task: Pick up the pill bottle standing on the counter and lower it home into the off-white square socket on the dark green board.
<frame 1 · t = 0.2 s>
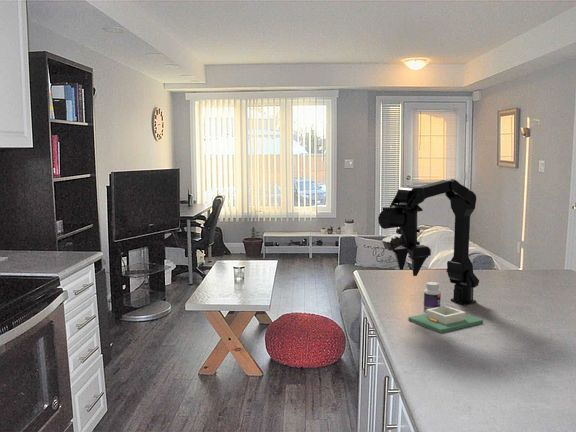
hand: (408, 272, 178), 14 cm above the countertop, fingers open, 9 cm apart
pill bottle: (431, 312, 182), on the countertop
board: (445, 321, 171), on the countertop
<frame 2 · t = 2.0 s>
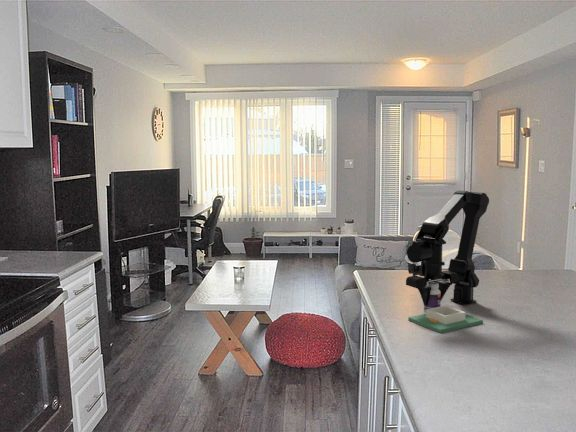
hand: (432, 304, 182), 3 cm above the countertop, fingers closed on pill bottle, 5 cm apart
pill bottle: (431, 312, 182), on the countertop, touching gripper
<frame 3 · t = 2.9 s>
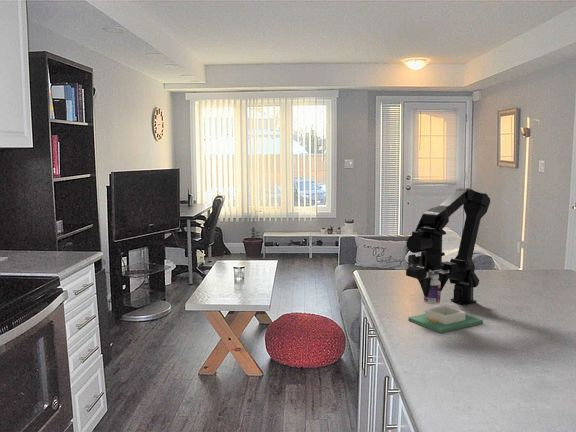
hand: (432, 295, 181), 6 cm above the countertop, fingers closed on pill bottle, 5 cm apart
pill bottle: (431, 303, 182), point 3 cm above the countertop, touching gripper
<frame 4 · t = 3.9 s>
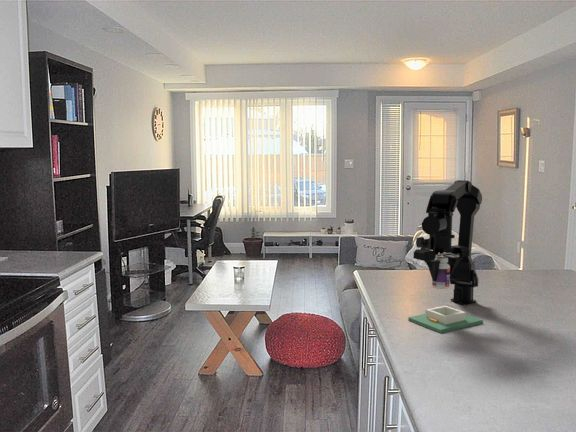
hand: (440, 279, 173), 13 cm above the countertop, fingers closed on pill bottle, 5 cm apart
pill bottle: (440, 287, 173), point 10 cm above the countertop, touching gripper
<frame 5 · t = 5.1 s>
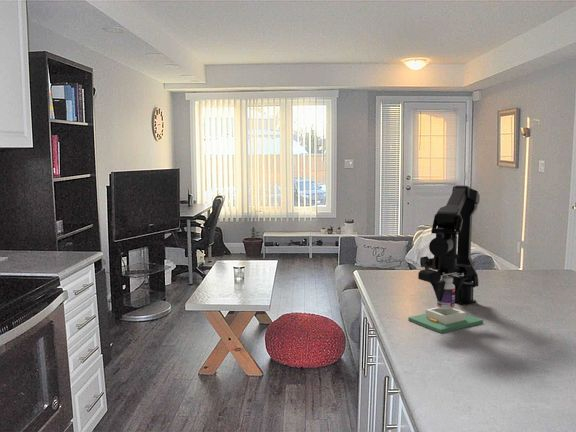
hand: (445, 299, 171), 7 cm above the countertop, fingers closed on pill bottle, 5 cm apart
pill bottle: (445, 307, 171), point 4 cm above the countertop, touching gripper
when the fingers open (5 cm above the countertop, at t = 5.9 s): pill bottle drops 1 cm, resting on board.
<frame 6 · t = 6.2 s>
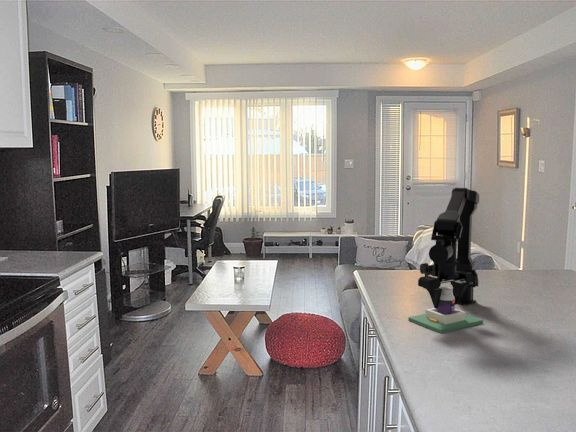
hand: (445, 306, 171), 5 cm above the countertop, fingers open, 8 cm apart
pill bottle: (445, 319, 172), point 1 cm above the countertop, touching board
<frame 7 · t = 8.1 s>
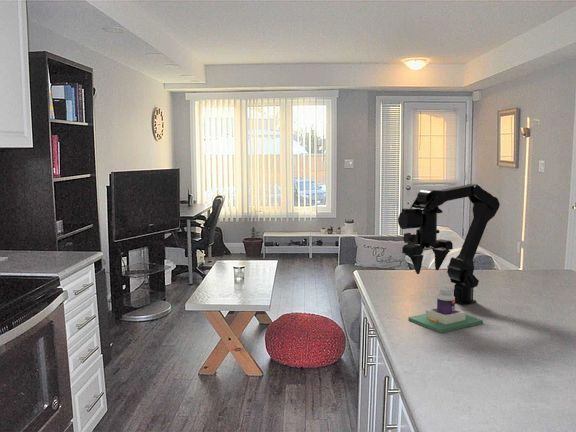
hand: (427, 271, 186), 12 cm above the countertop, fingers open, 9 cm apart
nothing on the countertop moved.
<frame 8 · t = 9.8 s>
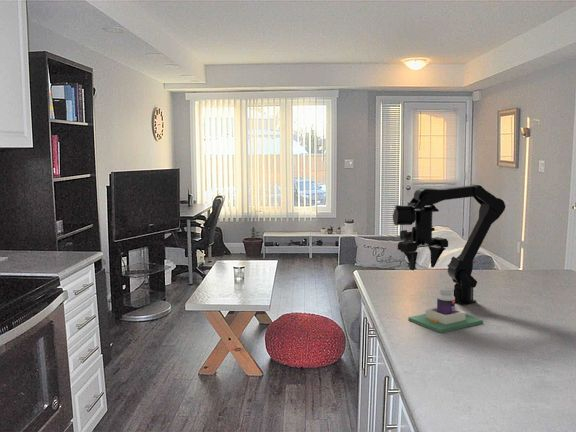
hand: (422, 268, 190), 13 cm above the countertop, fingers open, 9 cm apart
nothing on the countertop moved.
at the end: pill bottle 0.1 cm off-centre on the board, point 0.8 cm above the board's base; pill bottle tilted 0°; the gripper is holding nothing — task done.
